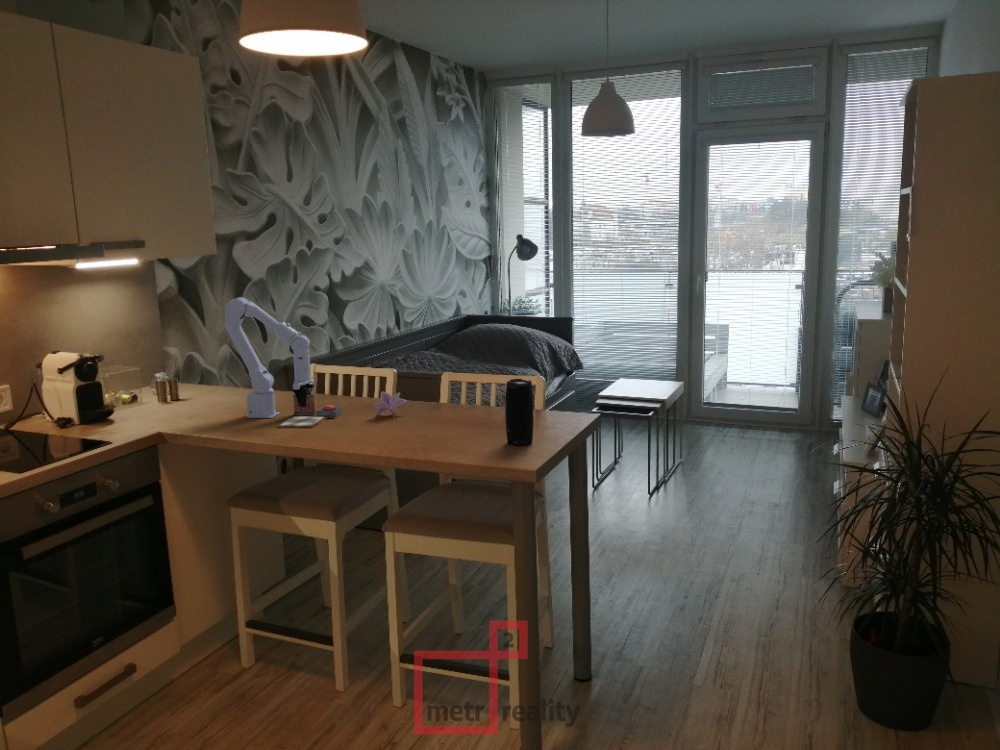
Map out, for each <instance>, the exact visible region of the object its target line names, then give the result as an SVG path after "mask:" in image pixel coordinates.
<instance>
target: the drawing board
mask: <svg viewBox="0 0 1000 750" xmlns="http://www.w3.org/2000/svg"><path fill="white" fill-rule="evenodd" d="M327 417H328V416H317V415H316V416H315V415H293V416H291V417H288V418H287V419H285V420H283V422H280V423H279V424H277V425H276V427H314V426H315V425H317V424H318V423H319V422H321V421H322V420H324V419H326V418H327ZM327 419H328V418H327ZM327 419H326V420H327ZM324 421H325V420H324ZM321 423H322V422H321ZM318 425H319V424H318ZM318 425H317V426H318ZM315 427H316V426H315ZM315 427H314V428H315Z"/></svg>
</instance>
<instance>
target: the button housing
mask: <svg viewBox="0 0 1000 750" xmlns="http://www.w3.org/2000/svg"><path fill="white" fill-rule="evenodd" d="M342 410H343V407H341V406H334V410H333V411H330V410H324V406H322V407H321V408H320V409H318V410H316V416H328V417H337V416H338V417H340V416H341V415H342V414H343V411H342ZM340 414H341V415H340ZM339 415H340V416H339ZM338 417H337V418H338Z"/></svg>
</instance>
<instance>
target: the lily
mask: <svg viewBox="0 0 1000 750" xmlns="http://www.w3.org/2000/svg"><path fill="white" fill-rule="evenodd" d="M400 396H401V392H396V393H395V394H392V395H391V394H390V393H388V392H387V391H381V393H380V401H378V402H376V403H374V404H373V405H372V407H375V408H377V412H376V416H380V415H381V414H383V413H385V412H386V411H388V412H390V413H391V415H392V417H393V418H394V419H395V416H394V415H395V414H394V413H397V407H398V406H399V405H402V404H404V403H406V402H408V401H407V399H404V398H400Z"/></svg>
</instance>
